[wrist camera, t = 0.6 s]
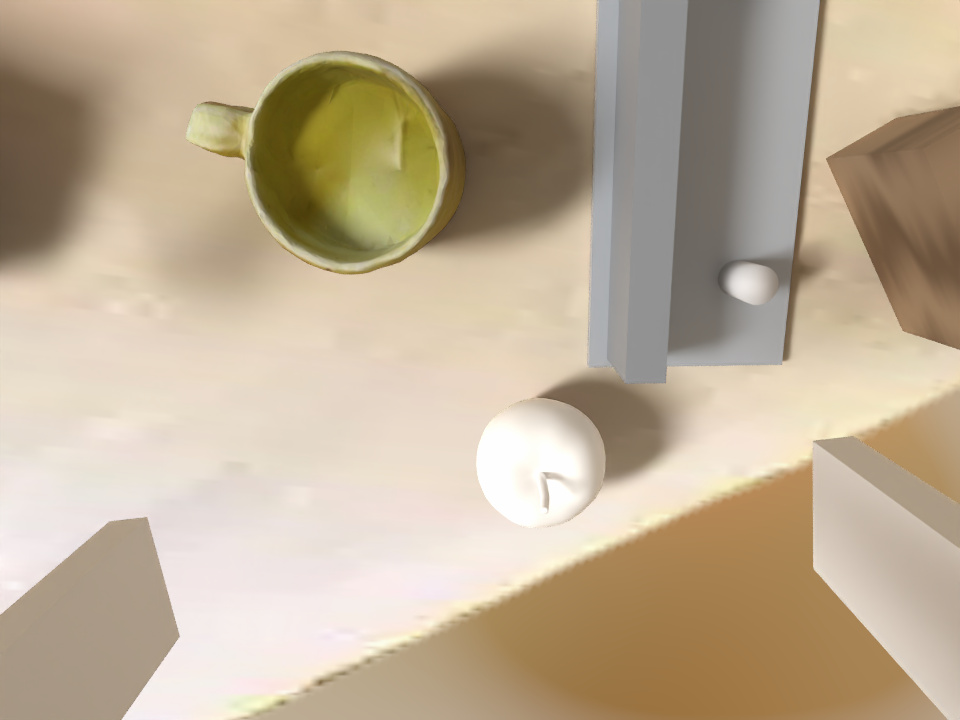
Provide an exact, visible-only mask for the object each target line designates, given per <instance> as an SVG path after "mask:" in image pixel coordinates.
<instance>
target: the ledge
mask: <svg viewBox="0 0 960 720" xmlns="http://www.w3.org/2000/svg"><path fill="white" fill-rule="evenodd" d="M819 4H820V0H597V25H596V62H595V100H594V137H593V174H592V212H591V249H590V287H589V324H588V361H587V365H588V366H589V367H613V368H614V369H615V370H616V372H617V373H618V374H619V376H620V377H621V379H622V380H623V381H624V383H625V384H634V383H666V369H667V366H728V365H782V359H783V349H784V339H785V330H786V320H787V311H788V301H789V292H790V282H791V272H792V263H793V253H794V244H795V234H796V225H797V215H798V205H799V196H800V186H801V177H802V167H803V158H804V148H805V138H806V129H807V119H808V110H809V100H810V91H811V81H812V71H813V62H814V52H815V43H816V33H817V24H818V14H819Z"/></svg>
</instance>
